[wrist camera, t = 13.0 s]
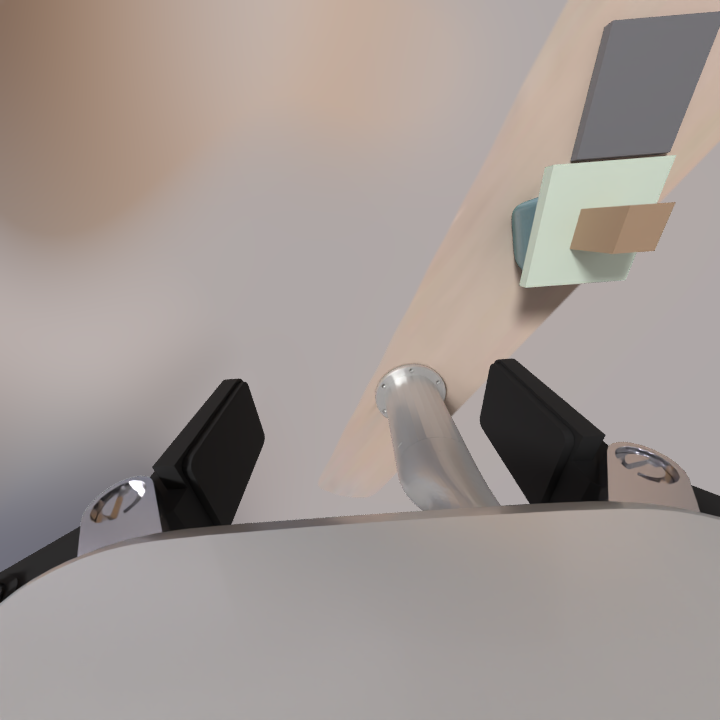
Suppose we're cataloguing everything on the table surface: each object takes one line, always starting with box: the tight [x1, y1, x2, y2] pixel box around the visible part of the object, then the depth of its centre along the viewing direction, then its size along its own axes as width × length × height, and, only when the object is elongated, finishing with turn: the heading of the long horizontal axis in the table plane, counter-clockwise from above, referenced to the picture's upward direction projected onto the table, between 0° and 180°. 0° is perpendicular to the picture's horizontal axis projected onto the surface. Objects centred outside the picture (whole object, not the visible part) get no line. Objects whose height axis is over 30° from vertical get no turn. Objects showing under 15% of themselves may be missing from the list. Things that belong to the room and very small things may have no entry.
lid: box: [519, 155, 676, 288], centre depth 24 cm, size 11×11×6 cm
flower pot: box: [512, 197, 539, 270], centre depth 31 cm, size 9×9×9 cm
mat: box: [571, 11, 720, 161], centre depth 28 cm, size 11×11×1 cm
